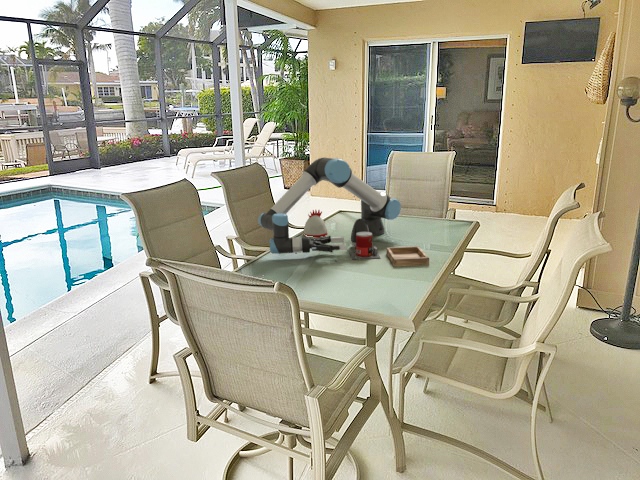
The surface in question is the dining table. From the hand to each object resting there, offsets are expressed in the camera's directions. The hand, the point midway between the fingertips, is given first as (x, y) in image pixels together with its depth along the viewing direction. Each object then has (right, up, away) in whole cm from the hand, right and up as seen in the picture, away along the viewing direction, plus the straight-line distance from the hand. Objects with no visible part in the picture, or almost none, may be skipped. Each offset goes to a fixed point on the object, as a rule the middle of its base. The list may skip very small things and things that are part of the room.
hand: (345, 243), depth 239 cm
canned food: (+10, -6, +2) cm, 12 cm away
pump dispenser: (+9, -2, +16) cm, 19 cm away
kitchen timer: (-15, +4, +45) cm, 47 cm away
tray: (+29, -8, -7) cm, 31 cm away
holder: (+10, -6, +2) cm, 11 cm away
